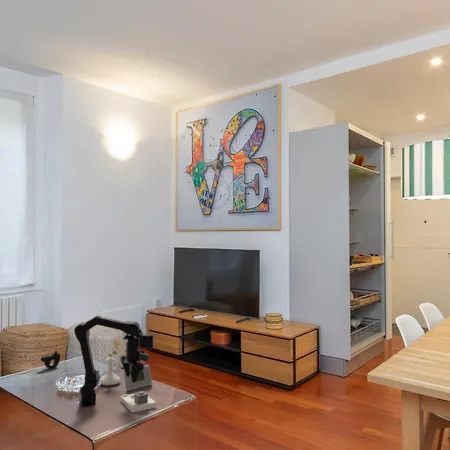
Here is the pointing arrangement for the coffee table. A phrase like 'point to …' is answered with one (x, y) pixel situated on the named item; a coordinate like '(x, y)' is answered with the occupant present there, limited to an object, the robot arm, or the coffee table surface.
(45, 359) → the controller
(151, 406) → the socket
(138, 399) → the plug
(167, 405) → the coffee table surface
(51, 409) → the coffee table surface
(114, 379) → the flower in vase
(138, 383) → the digital clock
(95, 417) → the coffee table surface
